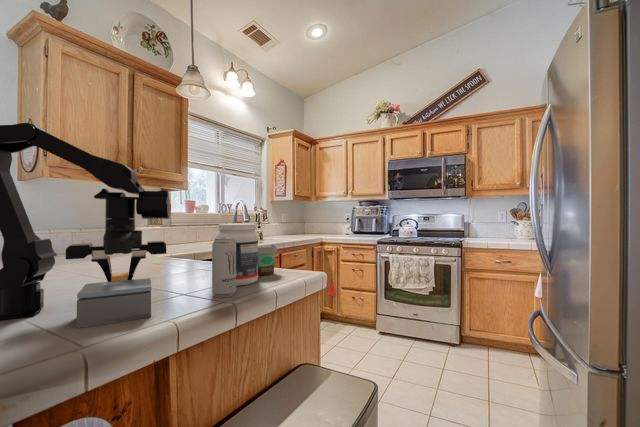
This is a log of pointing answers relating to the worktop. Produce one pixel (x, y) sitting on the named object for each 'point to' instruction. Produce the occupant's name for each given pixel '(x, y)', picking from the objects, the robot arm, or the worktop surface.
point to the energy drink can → (223, 267)
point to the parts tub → (113, 309)
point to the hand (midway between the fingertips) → (120, 286)
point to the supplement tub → (243, 250)
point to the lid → (115, 287)
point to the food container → (266, 260)
